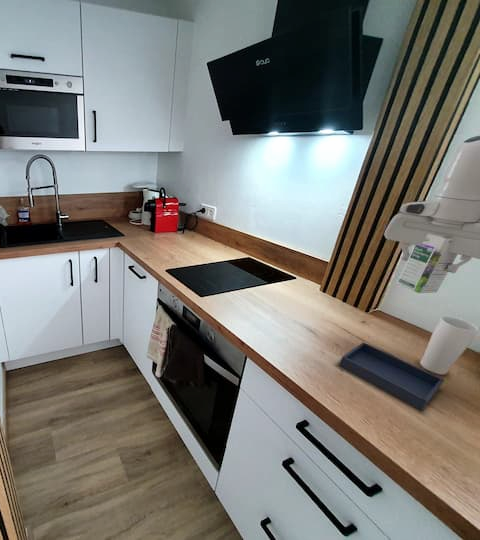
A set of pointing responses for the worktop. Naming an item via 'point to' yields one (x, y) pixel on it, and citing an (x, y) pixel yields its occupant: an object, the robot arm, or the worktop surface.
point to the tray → (392, 374)
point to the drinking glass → (447, 344)
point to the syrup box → (427, 264)
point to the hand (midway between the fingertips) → (426, 265)
